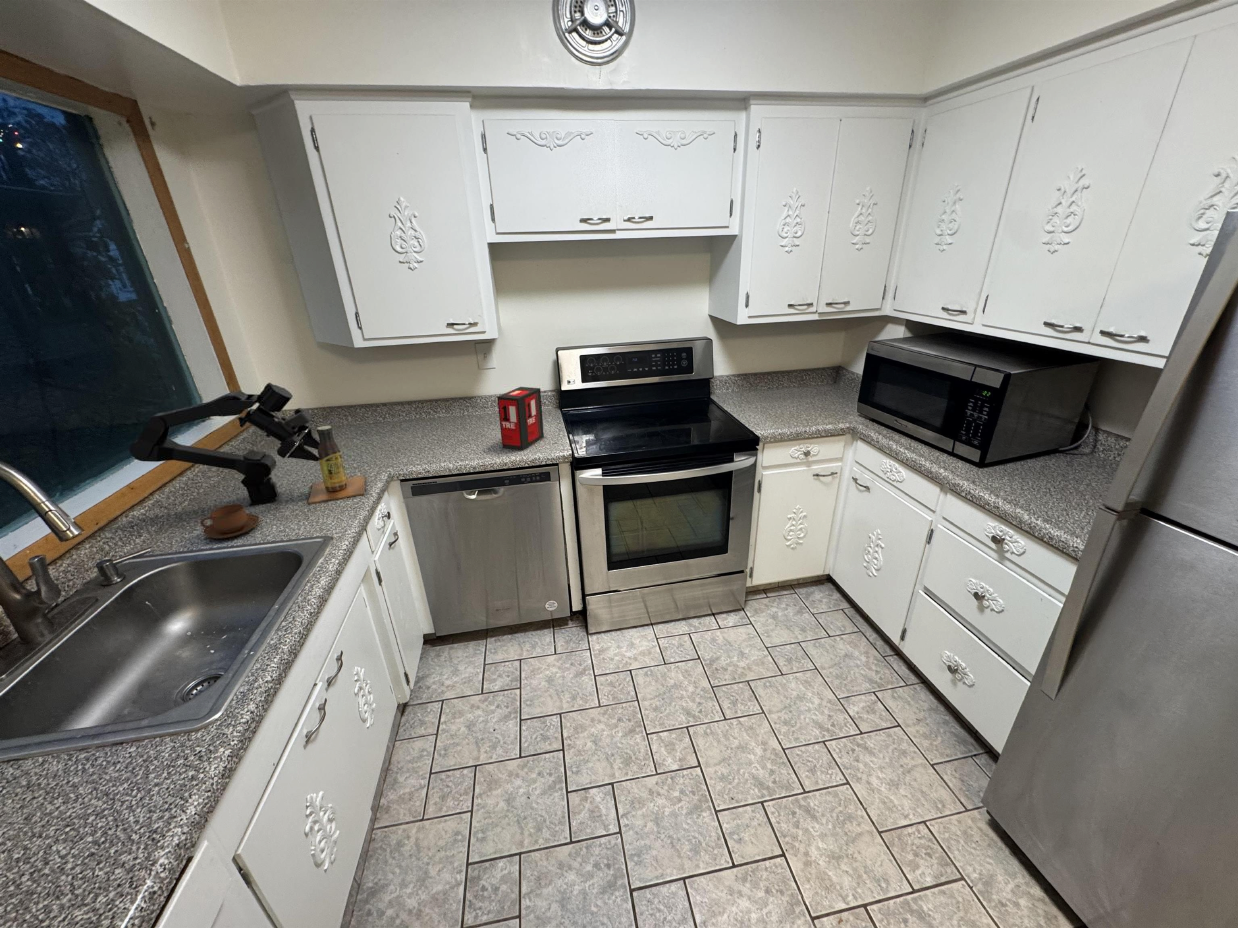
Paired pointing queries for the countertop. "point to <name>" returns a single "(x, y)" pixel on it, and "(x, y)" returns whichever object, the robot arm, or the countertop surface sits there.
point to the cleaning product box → (520, 417)
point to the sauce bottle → (330, 460)
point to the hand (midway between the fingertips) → (321, 454)
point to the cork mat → (352, 489)
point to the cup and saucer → (229, 521)
